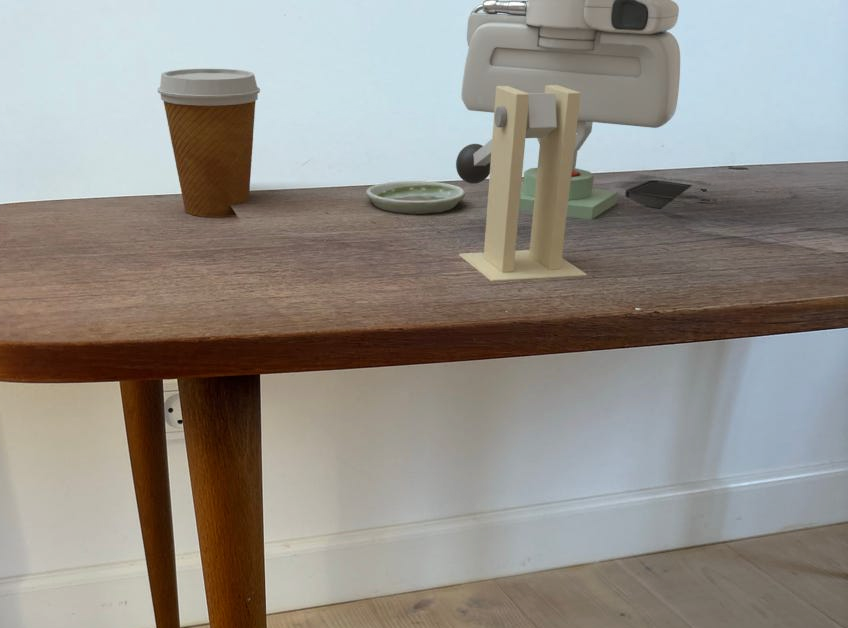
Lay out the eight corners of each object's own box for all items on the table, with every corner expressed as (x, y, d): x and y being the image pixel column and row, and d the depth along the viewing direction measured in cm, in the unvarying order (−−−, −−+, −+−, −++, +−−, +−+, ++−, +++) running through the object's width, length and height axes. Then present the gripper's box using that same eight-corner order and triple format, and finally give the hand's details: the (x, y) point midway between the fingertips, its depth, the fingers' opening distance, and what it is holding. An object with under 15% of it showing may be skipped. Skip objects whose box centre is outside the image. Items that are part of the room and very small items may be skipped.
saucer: (407, 200, 109) (408, 175, 108) (483, 215, 104) (485, 189, 103) (345, 216, 103) (345, 189, 102) (422, 232, 98) (423, 205, 97)
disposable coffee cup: (282, 206, 106) (278, 72, 100) (229, 225, 99) (221, 82, 92) (204, 195, 110) (195, 65, 103) (148, 213, 103) (134, 75, 96)
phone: (767, 211, 102) (622, 190, 109) (764, 224, 102) (620, 202, 109) (791, 197, 107) (651, 178, 114) (788, 209, 108) (650, 189, 115)
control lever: (452, 188, 94) (450, 149, 93) (486, 186, 95) (484, 148, 94) (523, 134, 78) (521, 87, 77) (563, 133, 78) (561, 86, 78)
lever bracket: (458, 268, 88) (469, 83, 80) (547, 263, 90) (566, 81, 82) (490, 295, 82) (506, 97, 74) (585, 289, 83) (610, 95, 76)
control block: (615, 214, 105) (621, 171, 103) (590, 231, 99) (596, 186, 97) (521, 203, 109) (525, 161, 107) (492, 218, 103) (495, 174, 101)
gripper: (455, -1, 96) (446, 163, 103) (679, 11, 88) (651, 187, 96) (482, -4, 100) (472, 154, 108) (697, 7, 93) (669, 175, 100)
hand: (558, 170), depth 102 cm, fingers closed, pressing on start button
